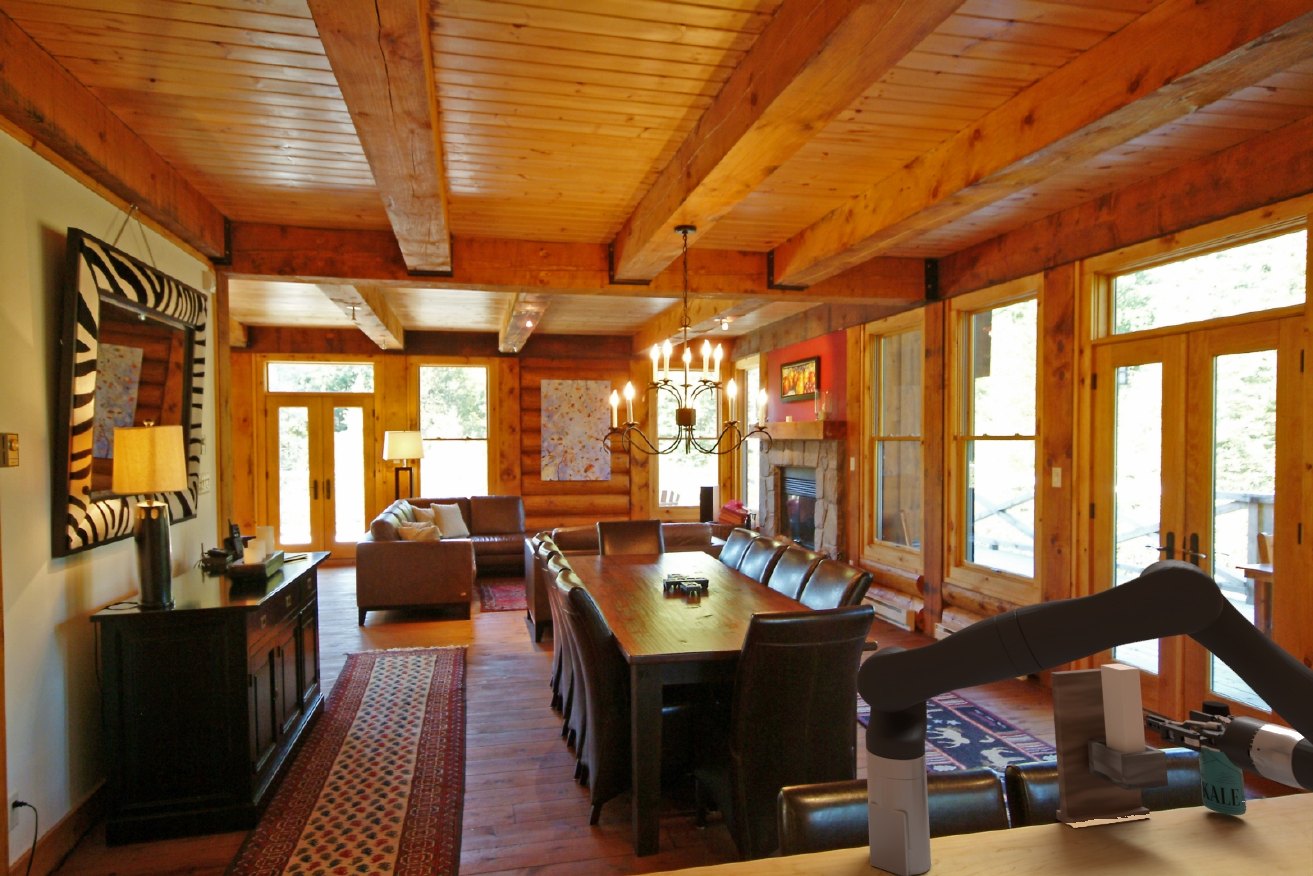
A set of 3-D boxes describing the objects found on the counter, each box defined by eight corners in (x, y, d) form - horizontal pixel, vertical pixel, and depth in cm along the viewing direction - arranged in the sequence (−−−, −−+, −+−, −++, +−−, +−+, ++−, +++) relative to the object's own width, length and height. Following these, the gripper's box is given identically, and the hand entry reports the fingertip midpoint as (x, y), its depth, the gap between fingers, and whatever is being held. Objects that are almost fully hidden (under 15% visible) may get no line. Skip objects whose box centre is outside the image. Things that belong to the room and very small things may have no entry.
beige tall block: (1147, 776, 121) (1139, 668, 123) (1128, 779, 120) (1119, 670, 122) (1127, 768, 125) (1119, 663, 126) (1108, 770, 124) (1100, 665, 126)
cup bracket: (1192, 839, 119) (1179, 680, 122) (1112, 850, 116) (1100, 687, 118) (1130, 809, 131) (1119, 665, 133) (1056, 819, 128) (1046, 671, 130)
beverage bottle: (1231, 809, 130) (1221, 697, 132) (1258, 825, 124) (1247, 707, 126) (1193, 808, 131) (1184, 697, 133) (1218, 824, 124) (1208, 707, 126)
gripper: (1312, 720, 101) (1202, 691, 117) (1232, 729, 98) (1130, 698, 114) (1318, 775, 100) (1207, 738, 116) (1237, 785, 97) (1134, 747, 113)
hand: (1169, 719), depth 115 cm, fingers open, 8 cm apart
